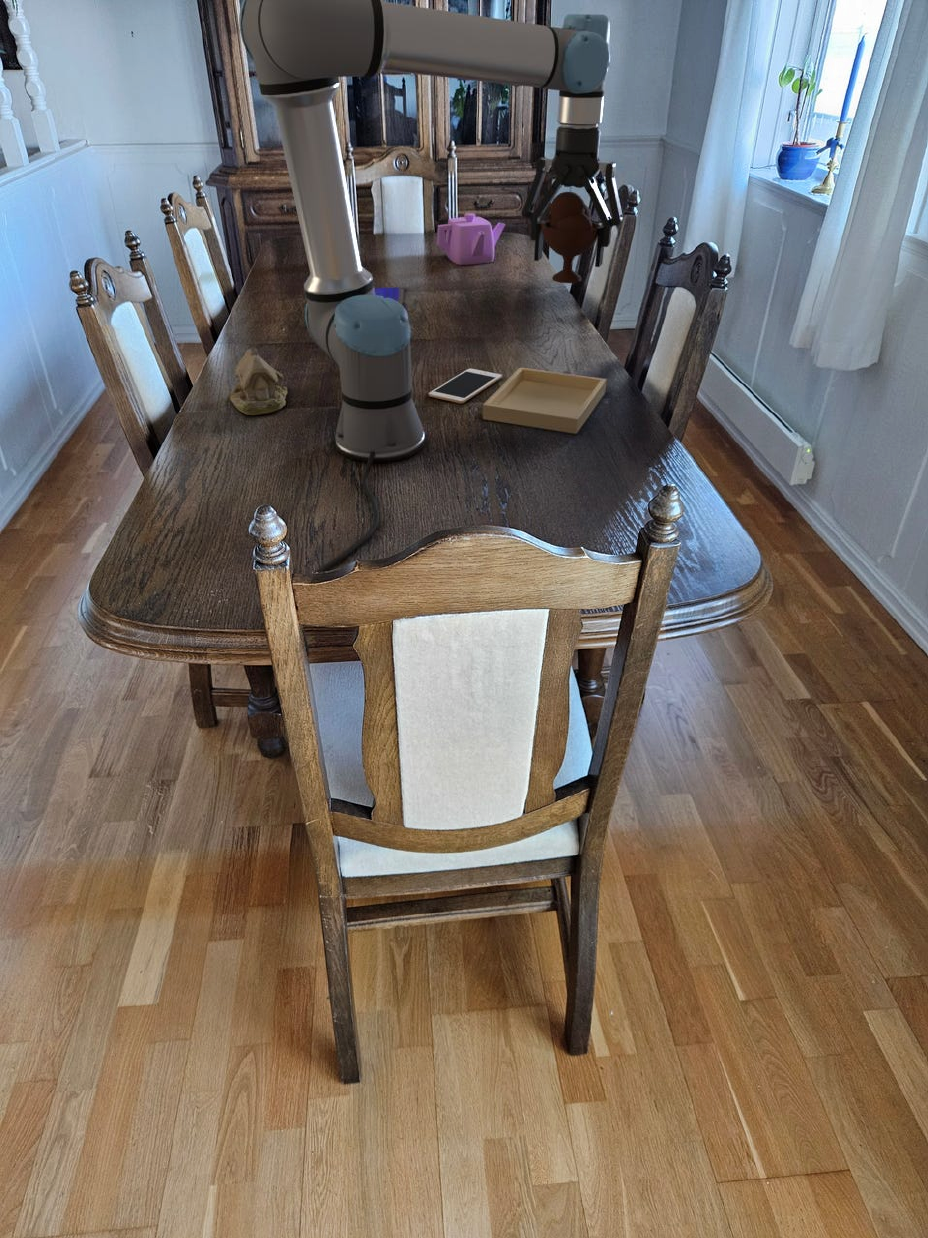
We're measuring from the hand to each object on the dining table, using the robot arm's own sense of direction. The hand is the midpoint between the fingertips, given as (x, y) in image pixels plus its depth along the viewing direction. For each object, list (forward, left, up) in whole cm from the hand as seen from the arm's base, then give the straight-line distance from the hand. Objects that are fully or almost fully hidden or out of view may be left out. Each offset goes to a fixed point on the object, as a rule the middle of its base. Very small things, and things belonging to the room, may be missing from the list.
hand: (568, 262), depth 154 cm
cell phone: (-11, +16, -23) cm, 30 cm away
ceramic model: (-32, +50, -23) cm, 64 cm away
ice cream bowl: (0, 0, -3) cm, 3 cm away
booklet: (+33, +59, -23) cm, 71 cm away
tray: (-14, -1, -23) cm, 27 cm away
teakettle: (+86, +53, -23) cm, 104 cm away
